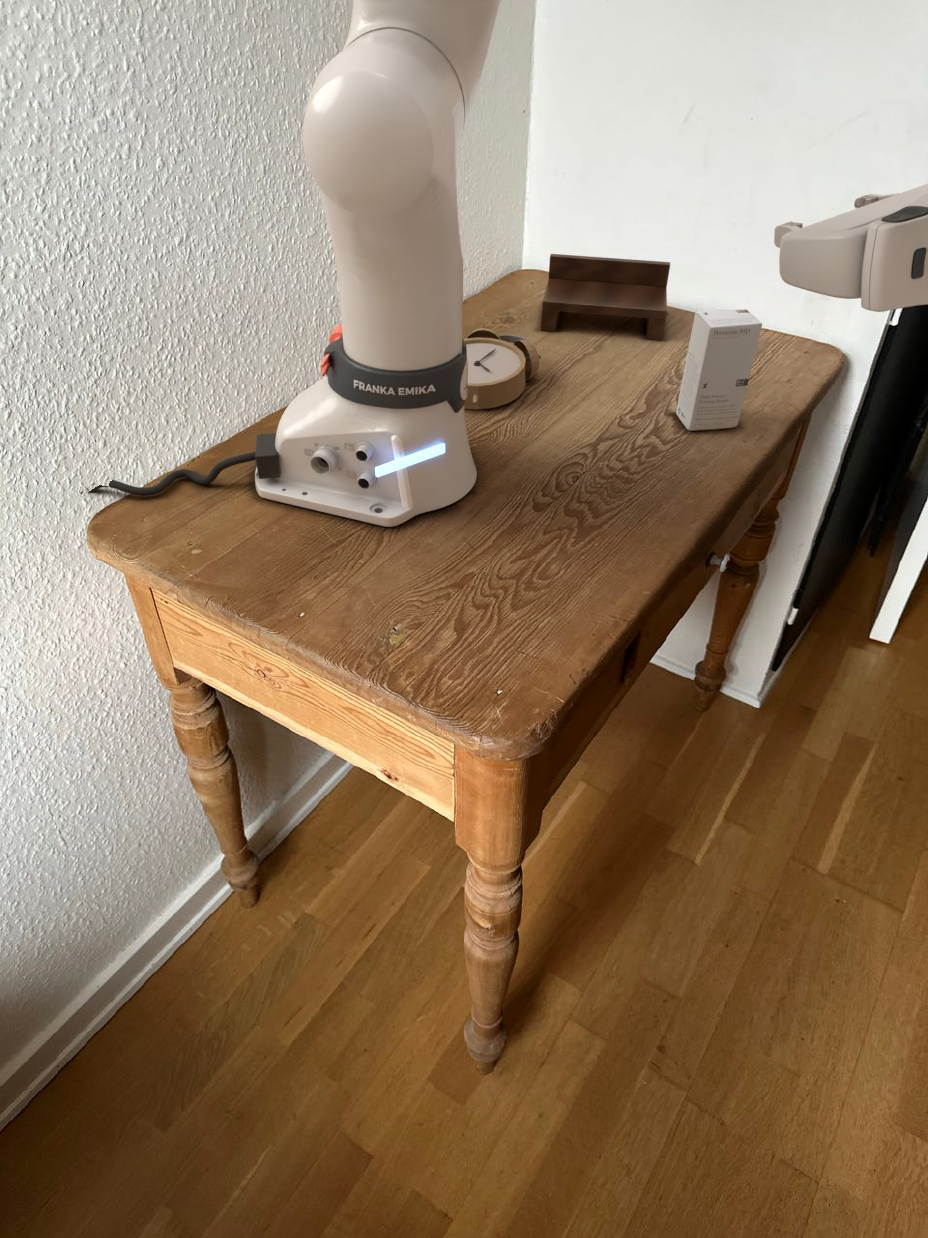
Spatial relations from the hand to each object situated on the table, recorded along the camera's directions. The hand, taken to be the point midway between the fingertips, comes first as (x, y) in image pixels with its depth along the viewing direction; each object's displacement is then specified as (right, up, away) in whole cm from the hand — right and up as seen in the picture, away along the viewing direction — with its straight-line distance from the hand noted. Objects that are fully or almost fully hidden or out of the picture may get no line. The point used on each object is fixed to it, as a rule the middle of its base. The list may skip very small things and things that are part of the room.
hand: (820, 219), depth 80 cm
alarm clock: (-29, -7, +29) cm, 42 cm away
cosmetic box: (-4, -13, +23) cm, 27 cm away
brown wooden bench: (-13, +5, +43) cm, 45 cm away
